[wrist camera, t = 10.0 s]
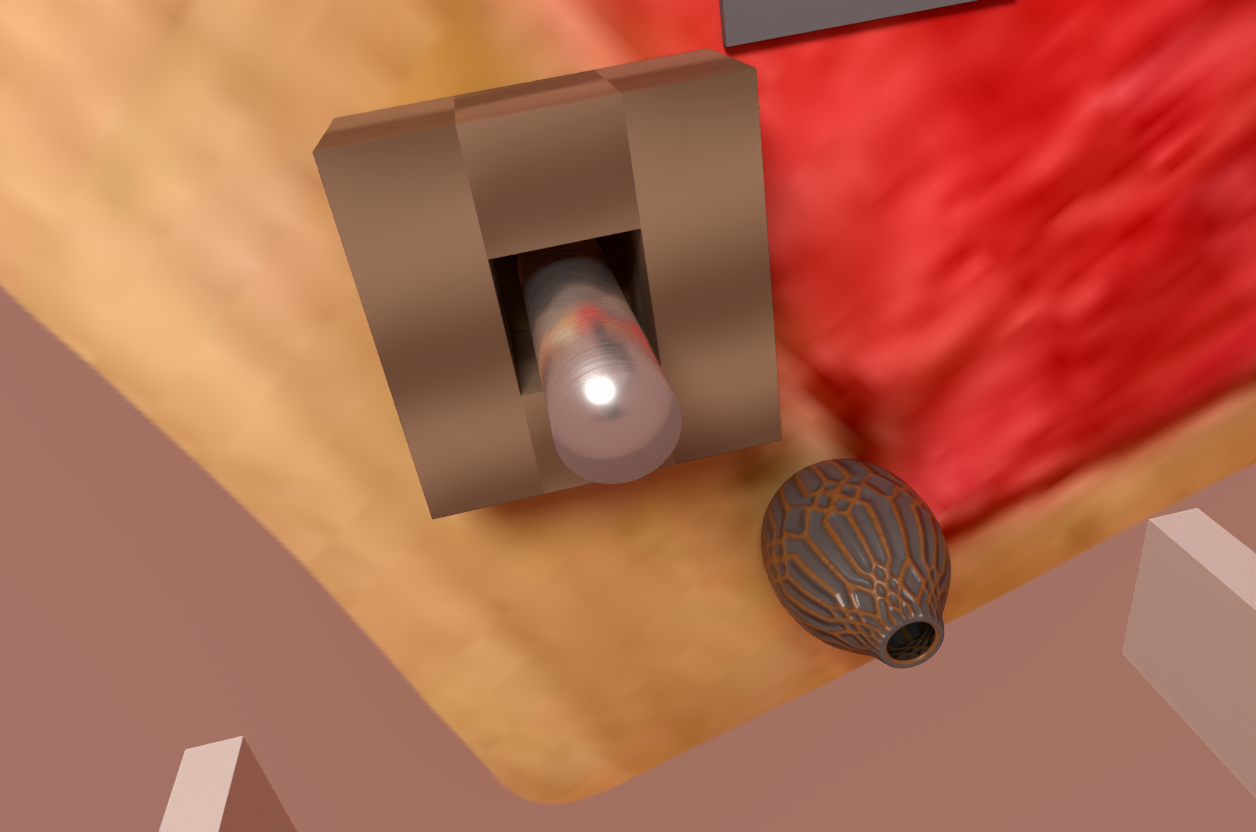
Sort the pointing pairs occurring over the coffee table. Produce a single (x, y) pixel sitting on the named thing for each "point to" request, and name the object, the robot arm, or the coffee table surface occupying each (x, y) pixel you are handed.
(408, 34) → the coffee table surface
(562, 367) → the peg
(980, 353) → the coffee table surface
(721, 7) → the mat
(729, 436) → the block
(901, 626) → the vase
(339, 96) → the coffee table surface
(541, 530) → the coffee table surface
